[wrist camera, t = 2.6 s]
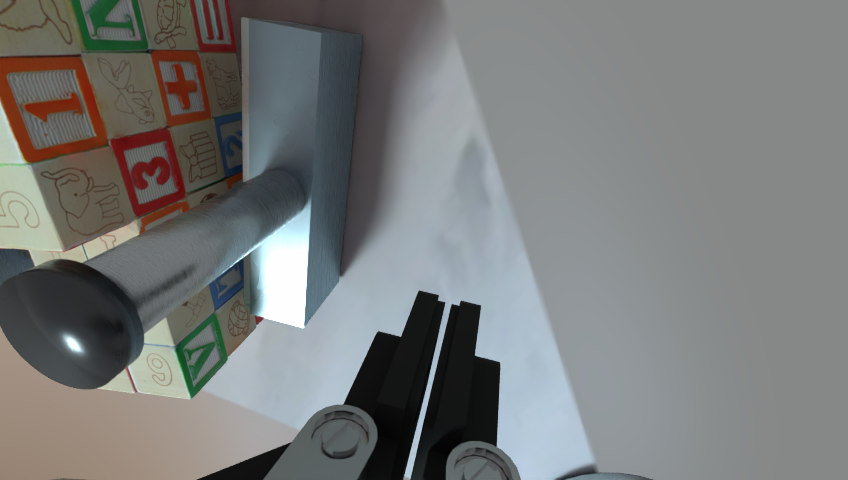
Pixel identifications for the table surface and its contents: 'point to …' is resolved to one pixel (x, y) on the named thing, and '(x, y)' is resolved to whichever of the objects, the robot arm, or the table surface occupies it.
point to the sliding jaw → (216, 221)
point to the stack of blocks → (124, 152)
